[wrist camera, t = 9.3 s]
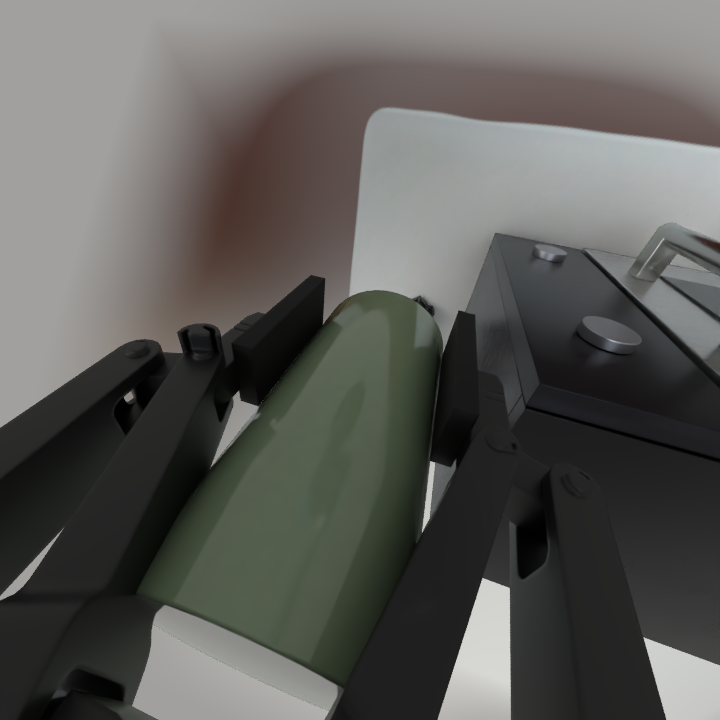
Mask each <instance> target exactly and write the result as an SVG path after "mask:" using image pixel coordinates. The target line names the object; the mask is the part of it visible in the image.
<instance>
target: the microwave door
mask: <svg viewBox="0 0 720 720" xmlns="http://www.w3.org/2000/svg"><path fill="white" fill-rule="evenodd" d="M582 253H583V254H584V255H585V256H586V257H587V258H588V259H589V260H590V261H591V262H592V263H593V264H594V265H595V266H596V267H597V268H598V269H599V270H600V271H601V272H602V273H603V274H604V275H605V276H606V277H607V278H608V279H609V280H610V281H611V282H612V283H613V284H614V285H615V286H616V287H617V288H618V289H619V290H620V291H621V292H622V293H623V294H624V295H625V296H626V297H627V298H628V299H629V300H630V301H632V302H633V303H634V304H635V305H636V306H637V307H638V308H639V309H640V310H641V311H642V312H643V313H644V314H645V315H646V316H647V317H648V318H649V319H650V320H651V321H652V322H653V323H654V324H655V325H656V326H657V327H658V328H659V329H660V330H661V331H662V332H663V333H664V334H665V335H666V336H667V337H668V338H669V339H670V340H671V341H672V342H673V343H674V344H675V345H676V346H677V347H678V348H679V349H680V350H681V351H682V352H683V353H684V354H685V355H686V356H687V357H688V358H689V359H690V360H691V361H693V362H694V363H695V364H696V365H697V366H698V367H699V368H700V369H701V370H702V371H703V372H704V373H705V374H706V375H707V376H708V377H709V378H710V379H711V380H712V381H713V382H714V383H715V384H716V385H717V386H718V387H719V388H720V241H718V240H716V239H713V238H711V237H708V236H706V235H703V234H701V233H698V232H696V231H693V230H691V229H688V228H686V227H683V226H681V225H678V224H676V223H667V224H664V225H662V226H661V227H659V228H658V229H657V230H656V232H655V233H654V235H653V236H652V238H651V239H650V240H649V242H648V243H647V245H646V246H645V248H644V249H643V250H642V252H641V253H640V255H639V256H638V258H637V259H636V258H631V257H626V256H621V255H616V254H611V253H606V252H601V251H596V250H591V249H586V248H584V249H583V250H582ZM677 253H678V254H680V255H681V256H683V257H685V258H687V259H689V260H691V261H693V262H694V263H696V264H698V265H700V266H702V267H704V268H706V269H707V270H709V271H711V272H713V273H715V274H712V273H707V272H702V271H697V270H692V269H687V268H682V267H677V266H672V265H668V264H669V263H670V262H671V261H672V259H673V258H674V257H675V255H676V254H677Z"/></svg>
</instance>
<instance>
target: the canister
mask: <svg viewBox="0 0 720 720" xmlns="http://www.w3.org/2000/svg"><path fill="white" fill-rule="evenodd" d="M442 355H443V340H442V336H441V333H440V330H439V328H438V326H437V324H436V322H435V320H434V319H433V318H432V316H431V315H430V314H429V313H428V312H427V311H426V310H425V309H424V308H423V307H422V306H421V305H419V304H418V303H417V302H415V301H413V300H412V299H410V298H408V297H406V296H403V295H401V294H398V293H394V292H389V291H380V290H374V291H365V292H361V293H358V294H355V295H353V296H351V297H349V298H347V299H345V300H344V301H343V302H342V303H340V304H339V306H338V307H337V308H336V309H335V310H334V311H333V313H332V314H331V315H330V316H329V318H328V319H327V320H326V321H325V323H324V324H323V325H322V327H321V328H320V329H319V330H318V332H317V333H316V334H315V335H314V337H313V338H312V339H311V341H310V342H309V343H308V344H307V346H306V347H305V348H304V350H303V351H302V352H301V353H300V355H299V356H298V357H297V358H296V360H295V361H294V362H293V364H292V365H291V366H290V367H289V369H288V370H287V371H286V372H285V374H284V375H283V376H282V378H281V379H280V380H279V381H278V383H277V384H276V385H275V386H274V388H273V389H272V390H271V392H270V393H269V394H268V395H267V397H266V398H265V399H264V401H263V402H262V403H261V404H260V406H259V407H258V408H257V410H256V411H255V412H254V413H253V415H252V416H251V417H250V418H249V420H248V421H247V422H246V423H245V425H244V426H243V427H242V429H241V430H240V431H239V433H238V434H237V435H236V436H235V437H234V439H233V440H232V441H231V443H230V444H229V445H228V446H227V448H226V449H225V450H224V452H223V453H222V454H221V455H220V457H219V458H218V459H217V460H216V462H215V463H214V464H213V466H212V467H211V468H210V469H209V471H208V472H207V473H206V474H205V476H204V477H203V479H202V480H201V481H200V483H199V484H198V486H197V487H196V489H195V490H194V491H193V493H192V494H191V496H190V497H189V499H188V501H187V502H186V504H185V506H184V507H183V509H182V511H181V512H180V514H179V516H178V517H177V519H176V520H175V522H174V524H173V525H172V527H171V529H170V531H169V533H168V534H167V536H166V538H165V540H164V542H163V543H162V545H161V547H160V549H159V551H158V552H157V554H156V556H155V558H154V560H153V561H152V563H151V565H150V567H149V569H148V570H147V572H146V574H145V576H144V578H143V580H142V582H141V584H140V586H139V587H138V590H137V593H136V594H137V596H138V597H139V598H140V599H141V600H142V601H143V602H144V603H145V604H147V605H148V606H149V607H150V608H151V609H152V610H153V611H154V612H156V615H155V618H154V621H153V625H154V626H156V627H158V628H159V629H161V630H163V631H165V632H166V633H168V634H170V635H171V636H173V637H175V638H177V639H179V640H181V641H182V642H184V643H186V644H188V645H189V646H191V647H193V648H195V649H197V650H199V651H201V652H203V653H205V654H206V655H208V656H210V657H212V658H214V659H216V660H218V661H220V662H222V663H224V664H226V665H228V666H230V667H232V668H234V669H236V670H238V671H240V672H242V673H245V674H246V675H248V676H251V677H253V678H255V679H257V680H259V681H261V682H263V683H266V684H268V685H270V686H272V687H274V688H276V689H278V690H281V691H283V692H285V693H287V694H290V695H292V696H294V697H297V698H299V699H301V700H303V701H306V702H308V703H311V704H313V705H315V706H318V707H320V708H323V709H325V710H328V711H330V709H331V707H332V705H333V703H334V701H335V700H336V698H337V696H338V694H339V693H340V692H341V691H342V689H343V688H344V686H345V684H346V682H347V680H348V678H349V676H350V674H351V672H352V670H353V668H354V666H355V664H356V663H357V661H358V659H359V657H360V655H361V653H362V651H363V649H364V647H365V645H366V643H367V641H368V639H369V637H370V635H371V633H372V631H373V629H374V627H375V625H376V623H377V621H378V619H379V617H380V615H381V613H382V611H383V610H384V608H385V606H386V604H387V602H388V600H389V598H390V596H391V594H392V592H393V590H394V588H395V586H396V584H397V582H398V580H399V578H400V576H401V574H402V572H403V570H404V568H405V566H406V564H407V562H408V560H409V558H410V556H411V554H412V552H413V550H414V548H415V546H416V544H417V542H418V540H419V538H420V536H421V534H422V526H423V518H424V509H425V501H426V492H427V483H428V474H429V466H430V461H429V460H430V452H431V444H432V435H433V427H434V419H435V410H436V402H437V393H438V385H439V377H440V368H441V360H442Z"/></svg>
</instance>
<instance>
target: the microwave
mask: <svg viewBox="0 0 720 720" xmlns="http://www.w3.org/2000/svg"><path fill="white" fill-rule="evenodd" d="M465 312H467V313H471V314H475V320H476V342H477V364H478V370H480V371H483V372H487V373H491V374H495V375H497V376H498V378H499V379H500V381H501V382H502V384H503V386H504V393H505V395H504V396H505V400H506V403H505V404H506V406H507V413H508V420H509V427H510V433H512V434H513V435H514V436H515V437H516V438H517V439H518V441H519V443H520V445H521V447H522V451H523V452H524V453H525V454H527V455H528V456H530V457H531V458H533V459H534V460H536V461H538V462H540V463H542V464H543V465H545V466H547V467H549V468H552V467H553V466H554V465H555V464H558V463H566V464H571V465H574V466H576V467H578V468H580V469H582V470H583V471H584V472H586V473H587V474H588V475H590V476H591V477H592V478H593V479H594V481H595V482H596V483H597V484H598V485H599V487H600V489H601V491H602V493H603V495H604V499H605V503H606V506H607V510H608V513H609V517H610V520H611V524H612V528H613V531H614V535H615V538H616V542H617V545H618V549H619V553H620V556H621V560H622V563H623V567H624V570H625V574H626V578H627V581H628V585H629V588H630V592H631V596H632V599H633V603H634V606H635V610H636V613H637V617H638V621H639V624H640V628H641V631H642V635H643V637H645V638H647V639H650V640H653V641H655V642H658V643H661V644H664V645H666V646H669V647H672V648H675V649H677V650H680V651H683V652H685V653H688V654H691V655H693V656H696V657H699V658H702V659H705V660H707V661H710V662H712V663H715V664H718V665H720V388H719V387H718V386H717V385H716V384H715V383H714V382H713V381H712V380H711V379H710V378H709V377H708V376H707V375H706V374H705V373H704V372H703V371H702V370H701V369H700V368H699V367H698V366H697V365H696V364H695V363H694V362H693V361H691V360H690V359H689V358H688V357H687V356H686V355H685V354H684V353H683V352H682V351H681V350H680V349H679V348H678V347H677V346H676V345H675V344H674V343H673V342H672V341H671V340H670V339H669V338H668V337H667V336H666V335H665V334H664V333H663V332H662V331H661V330H660V329H659V328H658V327H657V326H656V325H655V324H654V323H653V322H652V321H651V320H650V319H649V318H648V317H647V316H646V315H645V314H644V313H643V312H642V311H641V310H640V309H639V308H638V307H637V306H636V305H635V304H634V303H633V302H632V301H630V300H629V299H628V298H627V297H626V296H625V295H624V294H623V293H622V292H621V291H620V290H619V289H618V288H617V287H616V286H615V285H614V284H613V283H612V282H611V281H610V280H609V279H608V278H607V277H606V276H605V275H604V274H603V273H602V272H601V271H600V270H599V269H598V268H597V267H596V266H595V265H594V264H593V263H592V262H591V261H590V260H589V259H588V258H587V257H586V256H585V255H584V254H583V253H582V252H581V251H580V250H579V249H574V248H569V247H564V246H559V245H554V244H549V243H544V242H539V241H534V240H529V239H524V238H518V237H513V236H508V235H503V234H498V233H495V236H494V238H493V241H492V244H491V246H490V248H489V251H488V254H487V256H486V259H485V261H484V264H483V267H482V269H481V272H480V274H479V277H478V280H477V282H476V285H475V288H474V290H473V293H472V295H471V298H470V301H469V303H468V306H467V308H466V311H465ZM455 468H456V459H455V461H454V463H453V465H452V467H448V466H445V465H441V464H438V463H435V472H434V482H433V491H432V501H431V511H430V517H431V515H432V513H433V511H434V509H435V508H436V506H437V504H438V502H439V500H440V498H441V496H442V494H443V492H444V490H445V487H446V486H447V484H448V482H449V480H450V479H451V477H452V475H453V473H454V471H455ZM483 578H484V579H488V580H490V581H493V582H496V583H498V584H501V585H504V586H506V587H509V588H510V527H509V520H507V519H506V518H504V517H503V516H502V518H501V521H500V524H499V527H498V530H497V534H496V537H495V540H494V543H493V546H492V549H491V552H490V556H489V559H488V562H487V565H486V568H485V571H484V574H483Z"/></svg>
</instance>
